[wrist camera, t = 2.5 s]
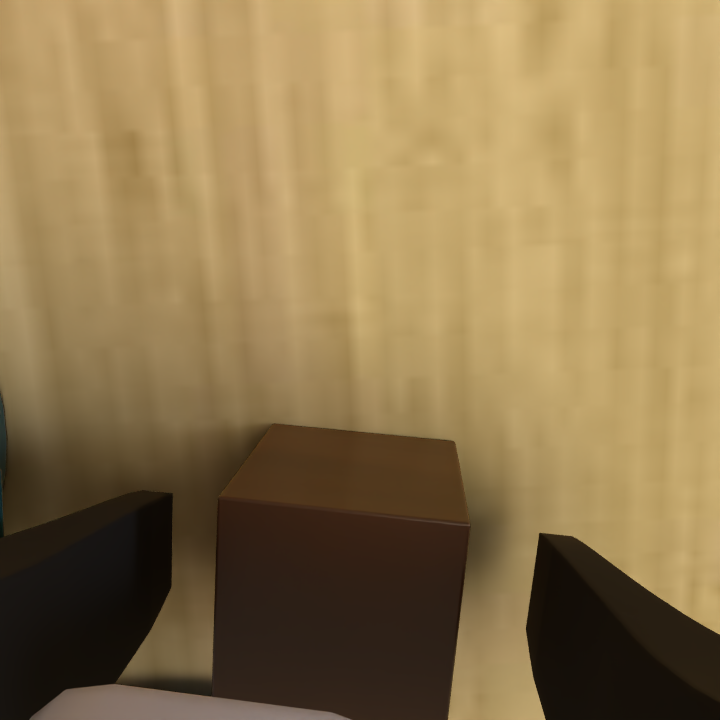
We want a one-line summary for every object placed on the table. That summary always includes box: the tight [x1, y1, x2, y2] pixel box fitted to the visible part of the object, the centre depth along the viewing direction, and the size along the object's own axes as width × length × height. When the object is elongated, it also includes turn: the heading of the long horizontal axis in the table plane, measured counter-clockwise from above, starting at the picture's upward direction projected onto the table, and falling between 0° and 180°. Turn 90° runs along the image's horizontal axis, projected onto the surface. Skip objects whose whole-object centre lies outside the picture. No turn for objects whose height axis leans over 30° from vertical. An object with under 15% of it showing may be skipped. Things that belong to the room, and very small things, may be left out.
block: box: [212, 424, 471, 720], centre depth 12 cm, size 4×4×4 cm
